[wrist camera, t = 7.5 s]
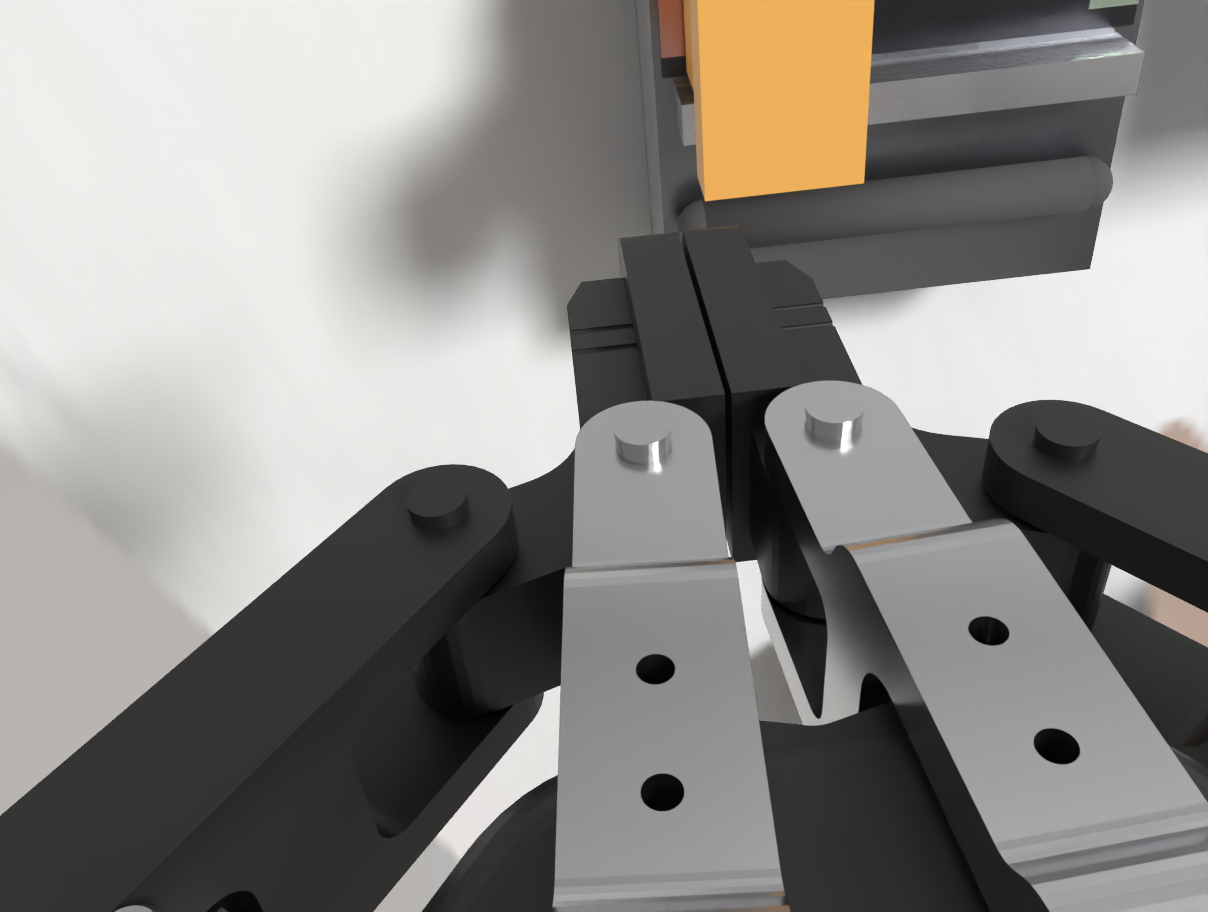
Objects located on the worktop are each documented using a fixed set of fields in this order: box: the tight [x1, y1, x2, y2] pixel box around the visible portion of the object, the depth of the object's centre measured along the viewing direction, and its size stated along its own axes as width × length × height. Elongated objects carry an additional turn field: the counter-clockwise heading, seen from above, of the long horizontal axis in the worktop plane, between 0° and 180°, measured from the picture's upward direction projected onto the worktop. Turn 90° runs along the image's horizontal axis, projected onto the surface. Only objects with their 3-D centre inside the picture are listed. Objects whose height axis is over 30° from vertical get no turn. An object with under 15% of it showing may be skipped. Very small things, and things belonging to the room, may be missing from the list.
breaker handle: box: [683, 0, 875, 201], centre depth 23 cm, size 3×4×6 cm
